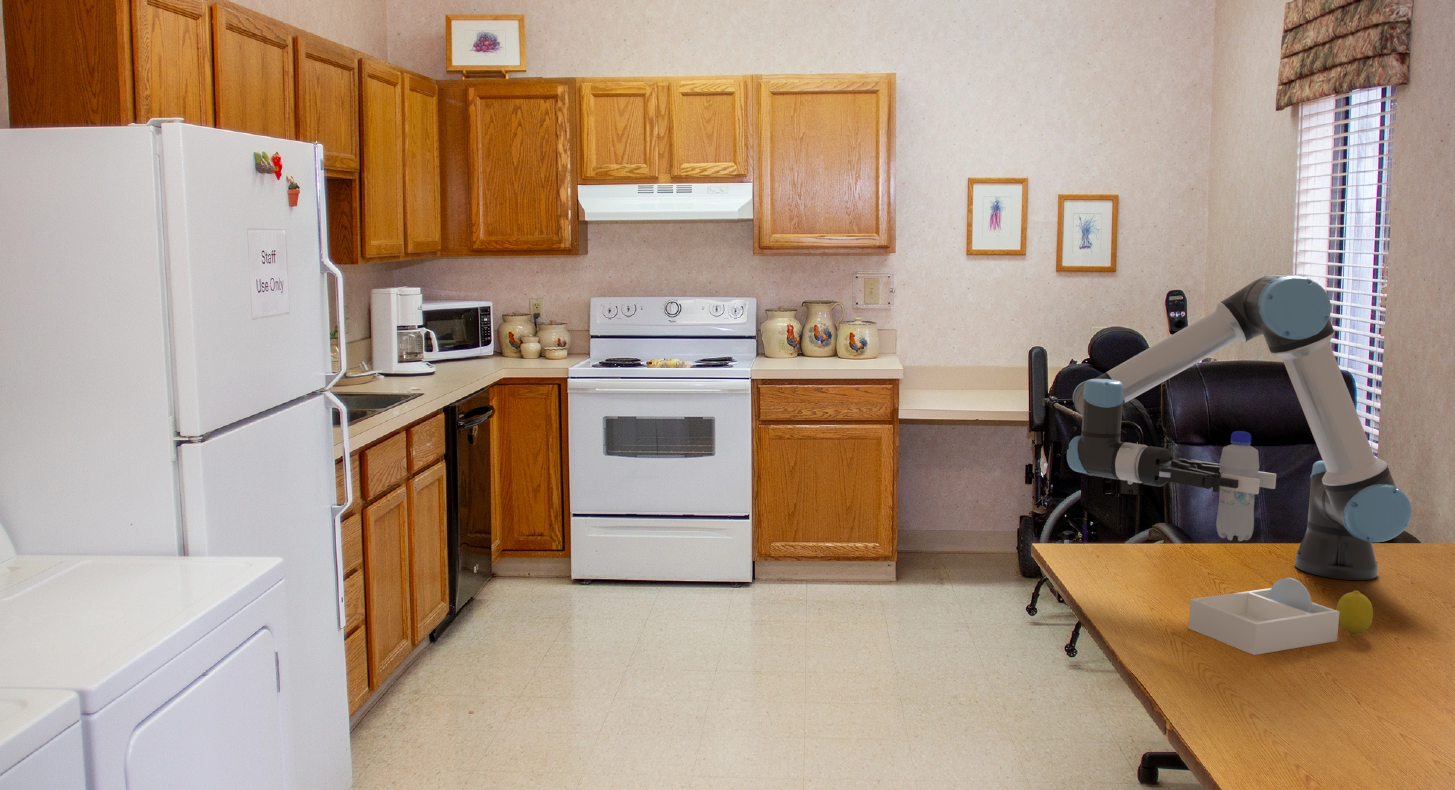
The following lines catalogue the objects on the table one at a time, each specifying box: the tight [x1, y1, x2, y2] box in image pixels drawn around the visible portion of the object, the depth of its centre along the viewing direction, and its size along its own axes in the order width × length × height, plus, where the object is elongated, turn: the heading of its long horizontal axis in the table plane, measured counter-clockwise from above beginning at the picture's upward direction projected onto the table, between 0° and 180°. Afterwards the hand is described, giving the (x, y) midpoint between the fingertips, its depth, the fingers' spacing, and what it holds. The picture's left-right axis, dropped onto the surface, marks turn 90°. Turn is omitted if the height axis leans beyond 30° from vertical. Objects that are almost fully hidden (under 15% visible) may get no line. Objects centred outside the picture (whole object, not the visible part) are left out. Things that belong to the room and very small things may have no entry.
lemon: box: [1335, 590, 1374, 637], centre depth 192 cm, size 6×6×8 cm
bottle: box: [1215, 430, 1260, 542], centre depth 205 cm, size 7×7×20 cm
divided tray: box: [1188, 577, 1340, 656], centre depth 192 cm, size 19×14×9 cm
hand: (1266, 483), depth 201 cm, fingers closed on bottle, 6 cm apart
